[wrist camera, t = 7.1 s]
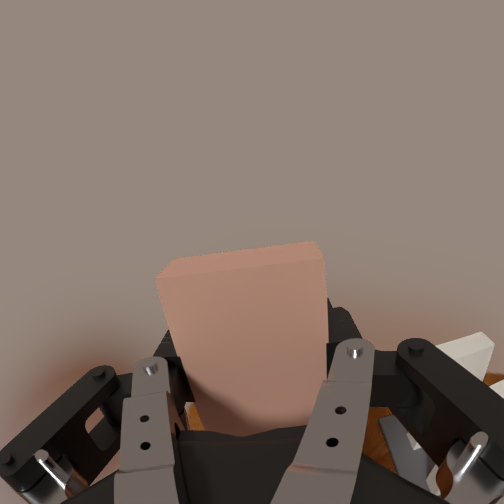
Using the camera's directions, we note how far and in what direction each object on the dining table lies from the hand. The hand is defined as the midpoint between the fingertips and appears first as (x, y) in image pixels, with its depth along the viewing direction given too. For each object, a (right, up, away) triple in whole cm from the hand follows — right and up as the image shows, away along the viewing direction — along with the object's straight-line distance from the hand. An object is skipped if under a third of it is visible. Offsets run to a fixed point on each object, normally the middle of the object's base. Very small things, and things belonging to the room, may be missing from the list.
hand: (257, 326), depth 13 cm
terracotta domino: (+1, -7, -1) cm, 7 cm away
